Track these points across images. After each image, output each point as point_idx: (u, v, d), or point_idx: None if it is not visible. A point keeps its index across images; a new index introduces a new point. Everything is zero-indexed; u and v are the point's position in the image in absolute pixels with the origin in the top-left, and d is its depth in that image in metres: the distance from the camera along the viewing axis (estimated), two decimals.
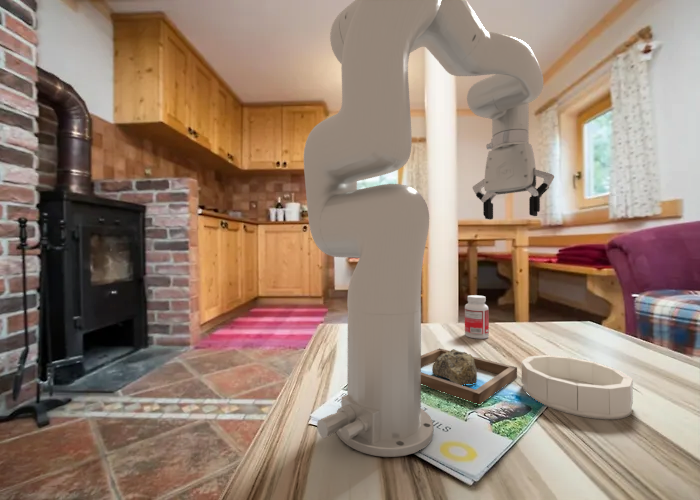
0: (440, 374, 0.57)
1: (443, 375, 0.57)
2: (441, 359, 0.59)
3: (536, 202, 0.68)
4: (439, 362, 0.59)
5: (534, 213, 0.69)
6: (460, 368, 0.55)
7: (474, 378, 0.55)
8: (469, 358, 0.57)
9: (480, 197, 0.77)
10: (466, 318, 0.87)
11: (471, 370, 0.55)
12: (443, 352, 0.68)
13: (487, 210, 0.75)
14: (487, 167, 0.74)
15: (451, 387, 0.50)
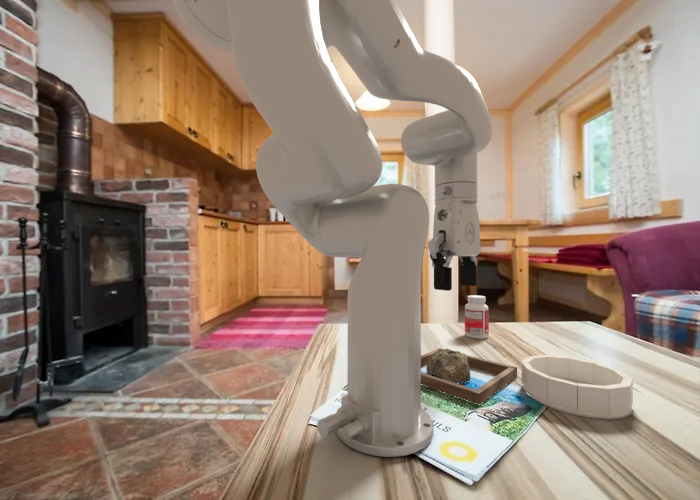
0: (434, 373, 0.58)
1: (437, 374, 0.57)
2: (435, 358, 0.59)
3: None
4: (433, 362, 0.59)
5: None
6: (454, 367, 0.56)
7: (467, 377, 0.56)
8: (463, 357, 0.57)
9: (441, 259, 0.54)
10: (466, 318, 0.87)
11: (465, 369, 0.56)
12: None
13: None
14: (457, 221, 0.54)
15: (451, 387, 0.50)
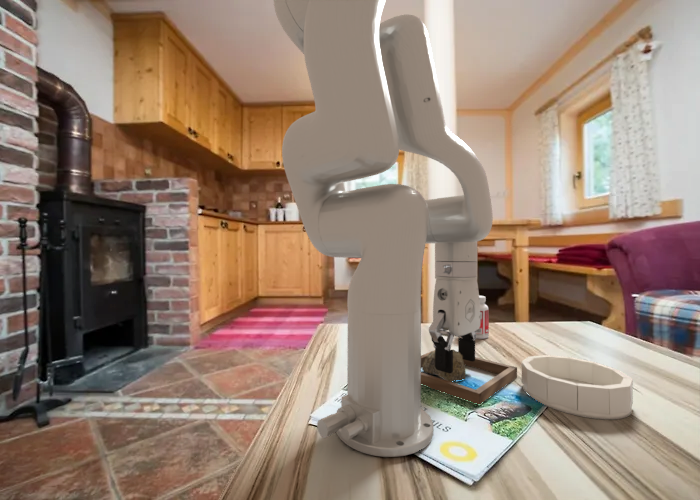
0: (430, 371, 0.59)
1: (433, 372, 0.58)
2: (431, 357, 0.60)
3: None
4: (429, 360, 0.60)
5: None
6: None
7: (463, 374, 0.57)
8: (458, 355, 0.58)
9: (443, 343, 0.54)
10: None
11: (460, 367, 0.57)
12: None
13: None
14: (457, 303, 0.54)
15: (451, 387, 0.50)
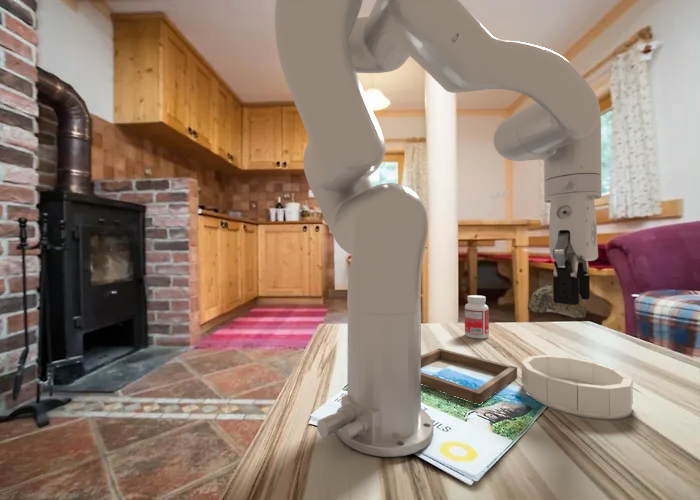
0: (542, 308, 0.51)
1: (547, 309, 0.50)
2: (539, 293, 0.52)
3: None
4: (538, 297, 0.52)
5: None
6: None
7: (584, 309, 0.49)
8: None
9: (569, 269, 0.46)
10: (466, 318, 0.87)
11: (581, 300, 0.49)
12: (443, 352, 0.68)
13: None
14: (586, 220, 0.46)
15: (451, 387, 0.50)
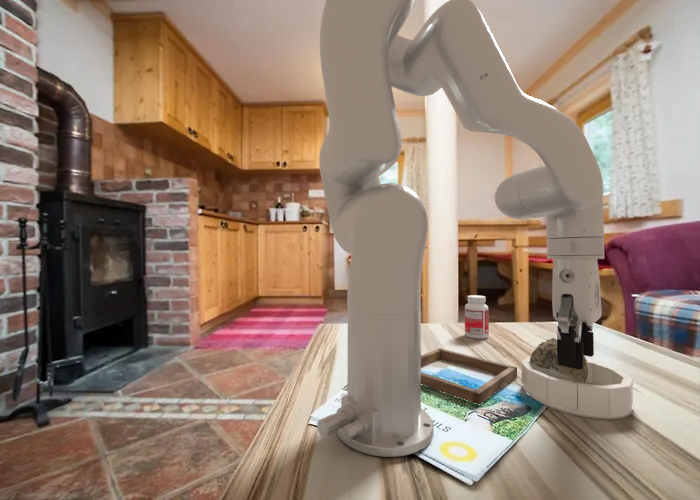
0: (545, 365, 0.50)
1: (550, 367, 0.50)
2: (545, 348, 0.52)
3: None
4: (543, 352, 0.51)
5: None
6: None
7: (586, 374, 0.49)
8: None
9: (573, 334, 0.46)
10: (466, 318, 0.87)
11: (586, 365, 0.49)
12: (443, 352, 0.68)
13: None
14: (589, 285, 0.46)
15: (451, 387, 0.50)
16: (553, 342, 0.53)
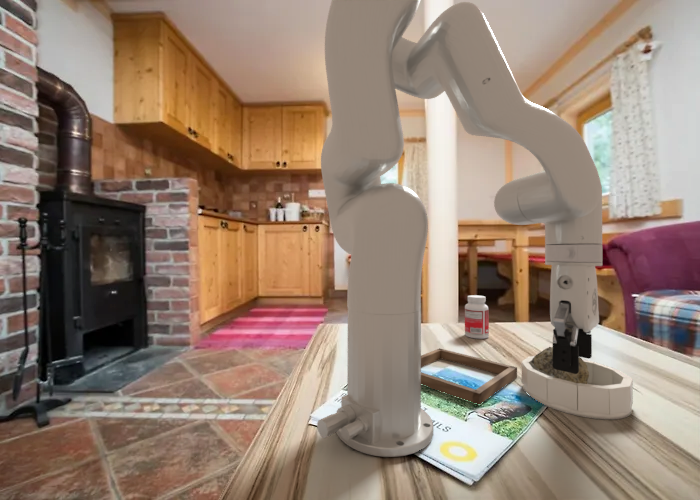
0: (546, 370, 0.50)
1: (550, 373, 0.50)
2: (551, 354, 0.51)
3: None
4: (548, 357, 0.51)
5: None
6: (577, 375, 0.48)
7: None
8: (586, 366, 0.50)
9: (569, 338, 0.45)
10: (466, 318, 0.87)
11: None
12: (443, 352, 0.68)
13: None
14: (587, 292, 0.46)
15: (451, 387, 0.50)
16: None
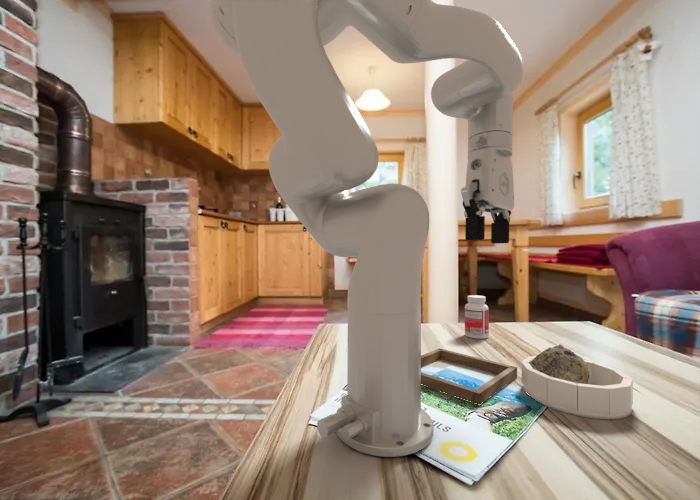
0: (547, 372, 0.50)
1: (551, 375, 0.50)
2: (551, 355, 0.51)
3: None
4: (548, 359, 0.51)
5: None
6: (577, 376, 0.48)
7: None
8: (586, 365, 0.50)
9: (474, 207, 0.53)
10: (466, 318, 0.87)
11: (587, 380, 0.49)
12: (443, 352, 0.68)
13: None
14: (492, 169, 0.53)
15: (451, 387, 0.50)
16: (560, 350, 0.52)
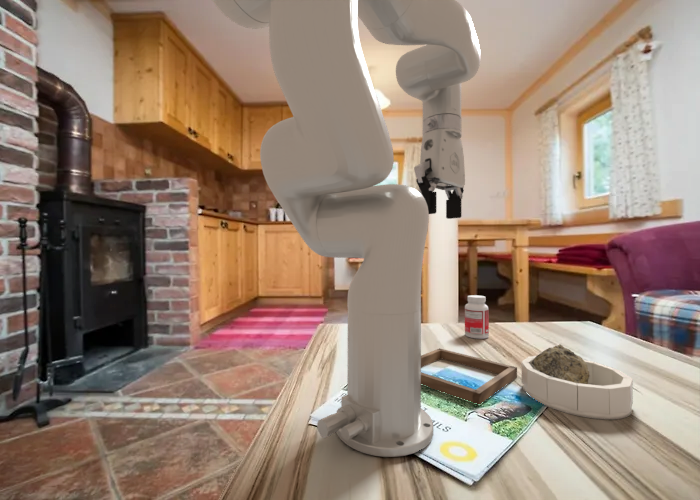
0: (547, 372, 0.50)
1: (551, 375, 0.50)
2: (551, 355, 0.51)
3: None
4: (548, 359, 0.51)
5: None
6: (577, 376, 0.48)
7: None
8: (586, 365, 0.50)
9: (427, 183, 0.58)
10: (466, 318, 0.87)
11: (587, 380, 0.49)
12: (443, 352, 0.68)
13: None
14: (442, 149, 0.59)
15: (451, 387, 0.50)
16: (560, 350, 0.52)
